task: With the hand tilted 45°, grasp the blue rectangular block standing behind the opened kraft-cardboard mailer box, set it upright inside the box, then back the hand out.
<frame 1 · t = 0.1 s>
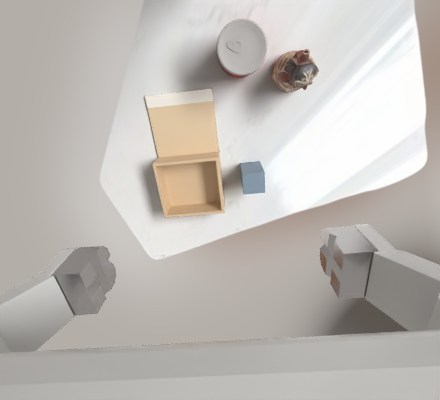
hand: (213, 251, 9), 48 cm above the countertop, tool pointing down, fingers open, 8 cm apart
figurine: (289, 72, 49), on the countertop
blue rectangular block: (250, 171, 58), on the countertop
canned food: (238, 56, 48), on the countertop
mailer box: (192, 180, 59), on the countertop
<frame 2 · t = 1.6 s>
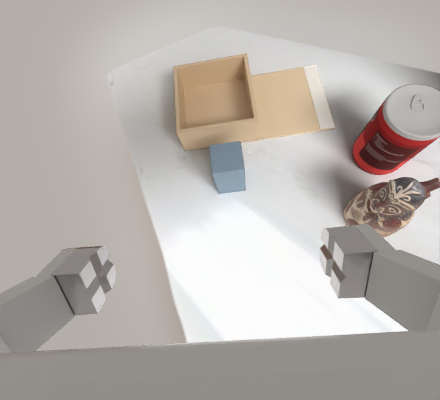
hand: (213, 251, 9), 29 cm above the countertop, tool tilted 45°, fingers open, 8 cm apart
figurine: (367, 216, 37), on the countertop
blue rectangular block: (230, 179, 41), on the countertop
canned food: (375, 154, 40), on the countertop
mailer box: (217, 113, 46), on the countertop
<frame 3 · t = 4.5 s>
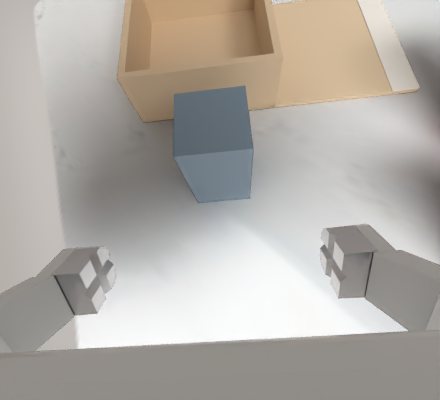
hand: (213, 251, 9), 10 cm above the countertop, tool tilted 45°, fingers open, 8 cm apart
blue rectangular block: (222, 177, 22), on the countertop
mailer box: (205, 62, 27), on the countertop
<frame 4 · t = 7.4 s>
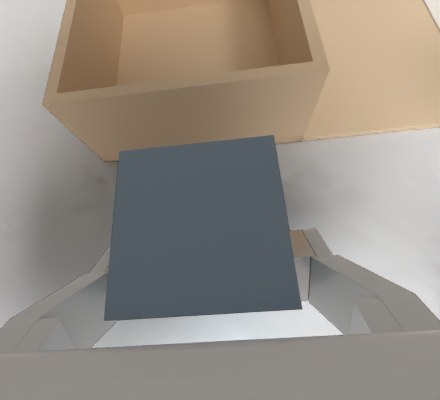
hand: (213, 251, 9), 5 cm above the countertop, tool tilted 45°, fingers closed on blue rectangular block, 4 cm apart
blue rectangular block: (222, 256, 14), on the countertop, touching gripper
mailer box: (197, 71, 19), on the countertop
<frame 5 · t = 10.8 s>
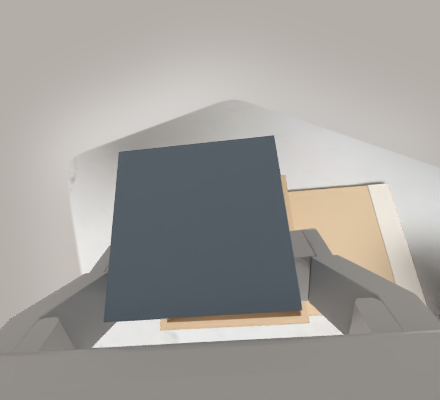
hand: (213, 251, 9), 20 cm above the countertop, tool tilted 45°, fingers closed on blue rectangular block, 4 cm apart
blue rectangular block: (222, 256, 14), point 16 cm above the countertop, touching gripper
mailer box: (230, 253, 29), on the countertop
when the fingers open (7 cm above the countertop, at t = 14.5 s): blue rectangular block drops 2 cm, resting on mailer box.
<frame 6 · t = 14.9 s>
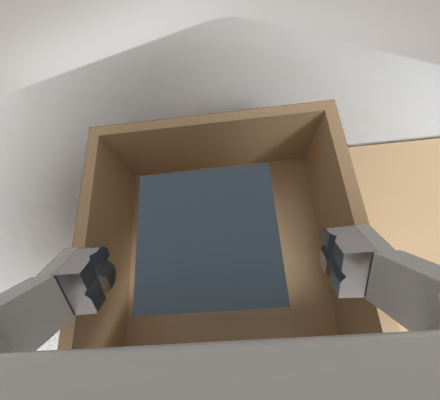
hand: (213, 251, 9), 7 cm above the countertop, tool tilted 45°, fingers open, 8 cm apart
blue rectangular block: (224, 260, 15), point 1 cm above the countertop, touching mailer box
mailer box: (224, 260, 16), on the countertop
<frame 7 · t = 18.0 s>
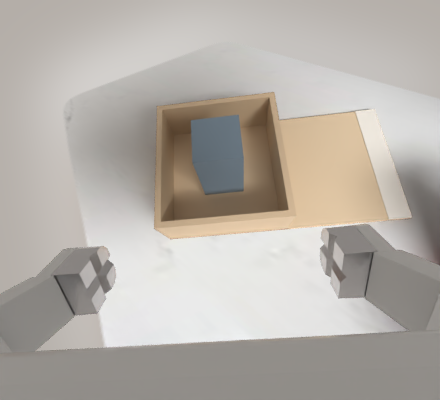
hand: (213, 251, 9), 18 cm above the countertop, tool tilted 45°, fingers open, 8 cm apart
blue rectangular block: (223, 175, 29), point 1 cm above the countertop, touching mailer box
mailer box: (223, 177, 30), on the countertop
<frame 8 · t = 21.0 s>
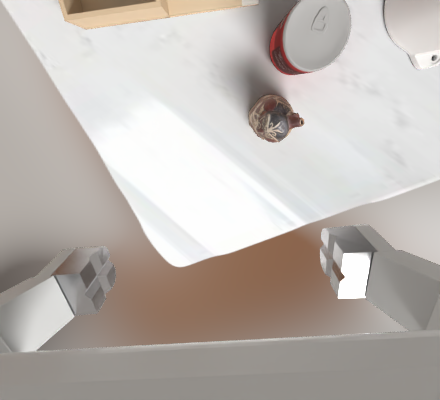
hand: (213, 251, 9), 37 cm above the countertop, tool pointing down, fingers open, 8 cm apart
figurine: (269, 116, 43), on the countertop
canned food: (293, 46, 38), on the countertop
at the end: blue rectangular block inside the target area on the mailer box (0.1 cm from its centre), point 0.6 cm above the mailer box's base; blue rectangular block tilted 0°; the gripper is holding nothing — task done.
